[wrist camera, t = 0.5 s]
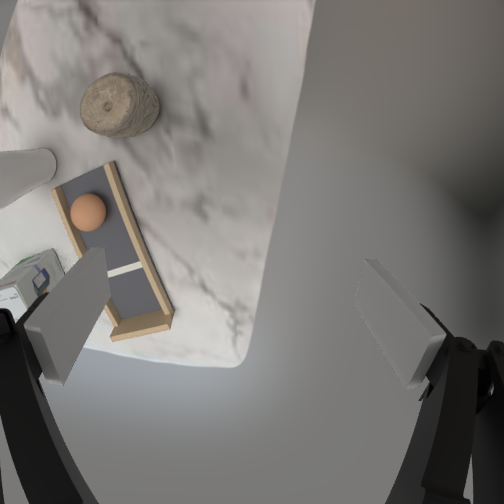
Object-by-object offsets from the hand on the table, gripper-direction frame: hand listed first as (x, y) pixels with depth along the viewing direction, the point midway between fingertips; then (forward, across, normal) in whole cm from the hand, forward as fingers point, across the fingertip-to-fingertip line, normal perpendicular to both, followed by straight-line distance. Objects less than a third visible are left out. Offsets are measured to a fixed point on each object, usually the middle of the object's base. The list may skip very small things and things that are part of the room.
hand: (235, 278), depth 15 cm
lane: (+27, -16, -10) cm, 33 cm away
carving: (+27, -12, +9) cm, 31 cm away
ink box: (+27, -31, -14) cm, 43 cm away
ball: (+26, -19, -4) cm, 32 cm away
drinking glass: (+27, -28, +2) cm, 39 cm away
